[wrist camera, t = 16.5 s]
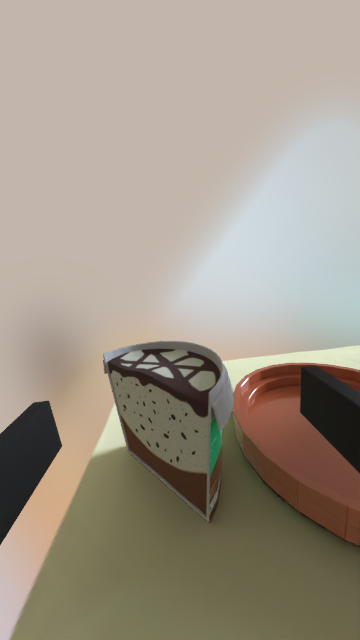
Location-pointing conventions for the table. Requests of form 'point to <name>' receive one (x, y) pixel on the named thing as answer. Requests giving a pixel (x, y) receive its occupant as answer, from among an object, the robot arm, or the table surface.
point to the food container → (174, 414)
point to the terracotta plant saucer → (297, 447)
